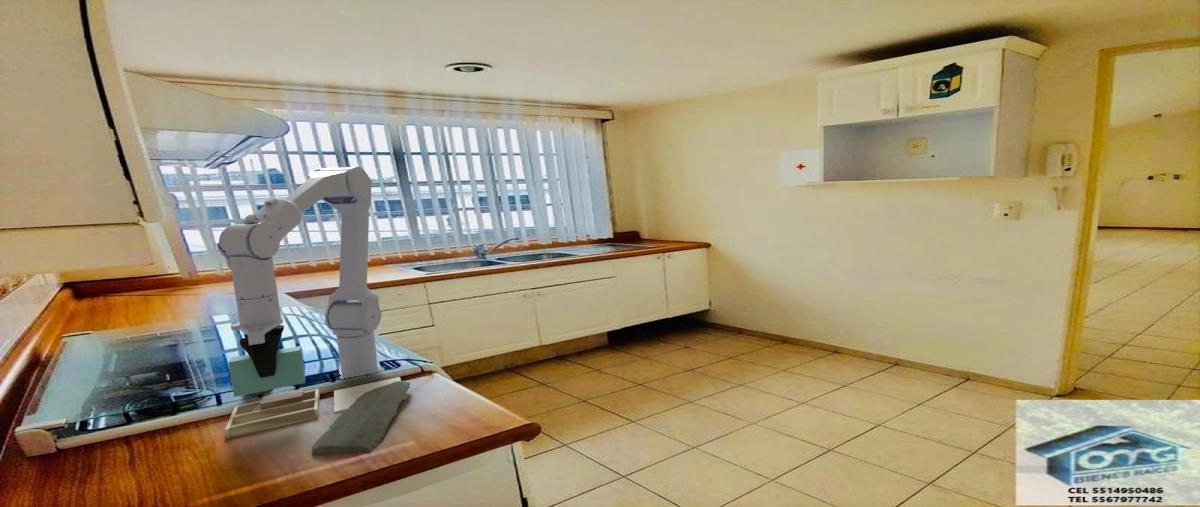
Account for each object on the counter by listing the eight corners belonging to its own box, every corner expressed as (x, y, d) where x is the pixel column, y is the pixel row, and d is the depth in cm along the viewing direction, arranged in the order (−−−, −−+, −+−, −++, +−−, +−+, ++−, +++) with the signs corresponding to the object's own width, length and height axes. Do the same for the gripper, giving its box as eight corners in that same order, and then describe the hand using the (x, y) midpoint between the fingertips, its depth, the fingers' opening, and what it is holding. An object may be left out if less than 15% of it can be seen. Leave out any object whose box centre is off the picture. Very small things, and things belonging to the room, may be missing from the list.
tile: (334, 394, 94) (334, 390, 94) (400, 380, 100) (399, 376, 100) (334, 415, 86) (334, 411, 86) (406, 399, 91) (406, 395, 91)
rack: (237, 415, 87) (235, 405, 87) (319, 397, 93) (318, 388, 93) (226, 441, 78) (224, 429, 78) (318, 419, 85) (317, 408, 84)
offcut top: (264, 403, 88) (263, 396, 88) (304, 395, 91) (304, 389, 91) (261, 410, 85) (260, 403, 85) (303, 401, 88) (302, 395, 88)
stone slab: (309, 465, 72) (376, 453, 73) (304, 449, 72) (372, 436, 73) (365, 395, 94) (417, 386, 95) (362, 382, 94) (413, 373, 94)
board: (236, 391, 82) (231, 357, 81) (305, 377, 86) (300, 345, 85) (234, 397, 79) (228, 362, 78) (304, 382, 84) (300, 350, 83)
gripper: (234, 290, 85) (246, 364, 87) (218, 309, 72) (232, 394, 74) (282, 285, 88) (292, 356, 90) (274, 301, 75) (286, 383, 78)
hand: (268, 372), depth 82 cm, fingers closed on board, 2 cm apart
